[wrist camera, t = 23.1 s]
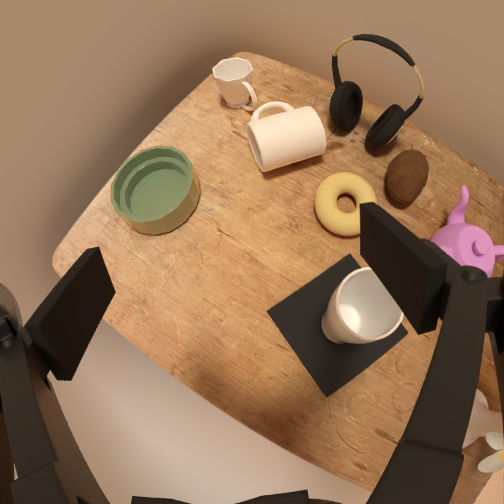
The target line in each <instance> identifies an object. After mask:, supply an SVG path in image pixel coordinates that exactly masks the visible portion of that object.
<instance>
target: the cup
mask: <svg viewBox="0 0 504 504" xmlns="http://www.w3.org/2000/svg"><path fill="white" fill-rule="evenodd" d="M213 73H214V78H215V80H216V82H217V84H218V87H219V89H220V91H221V94H222V96H223V97H224V99H225V100H226V102H227V106H230V107H232V108H240V107H242V108H243V109H245V110H247V111H252V110H254V109H256V108H257V106H258V103H257V98H256V95H255V92H254V90H253V88H252V87H251V84H252V74H253V69H252V66H251V63H250V61H248V60H245V59H241V58H238V57H236V58H230V59H226V60H222V61H220V62H219V63H218V64H217V65H216V66H215V67H213ZM249 95H250V96H251V99H252V103H253V108H252V107H248V106H246V104H247V103H248V102H249V98H248V97H249Z"/></svg>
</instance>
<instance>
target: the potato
mask: <svg viewBox="0 0 504 504" xmlns="http://www.w3.org/2000/svg"><path fill="white" fill-rule="evenodd" d="M428 170H429V166H428V162H427V159H426V157H425V156H424V155H423V154H422V153H421V152H419V151H416V150H406V151H403V152H401V153H400V154H399V155H397V156H396V157H395V158H394V159H393V160H392V161H391V162H390V164H389V166H388V172H387V183H386V185H387V190H388V192H389V194H390V196H391V197H392V198H393V199H394V200H395V201H396V202H398V203H401V204H409V203H410V202H411V201H412V200H414V198H415V197H416V196H417V195H418V194H419V193H420V192H421V191H422V189H423V188H424V186H425V185H426V182H427V178H428Z"/></svg>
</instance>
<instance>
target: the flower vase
mask: <svg viewBox="0 0 504 504" xmlns="http://www.w3.org/2000/svg"><path fill="white" fill-rule="evenodd" d="M478 437H486V441H487V443H488V444H489V445H490V446H491V447H492V448H493V449H495V450H499V451H498V452H496V453H495V454H492V455H491V456H488V457H487V458H485V459H484V460H482V461H481V462H480V463H479V465H478V469H479V471H480V472H484V473H492V472H496V471H498V470H500V469H502V468H503V467H504V437H503V423H502V413H499V412H494V411H491V410H489V408H488V403H487V400H486V397H485V396H484V394H483V393H482V392H481V391H480V390H478V389H476V394H475V399H474V404H473V408H472V413H471V417H470V421H469V425H468V429H467V433H466V436H465V440H464V443H463V447H462V449H463V448H465V447H467V446H469V445H471V444H472V443H473V442H474V441H476V440H477V439H478ZM500 449H501V450H500ZM503 479H504V478H503Z"/></svg>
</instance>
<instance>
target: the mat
mask: <svg viewBox="0 0 504 504" xmlns="http://www.w3.org/2000/svg"><path fill="white" fill-rule="evenodd" d="M360 268H361V267H360V266H359V264H358V263H357V262H356V261H355V259H354V258H353V257H352V255H351V254H348V255H347V256H346V257H344V258H343V259H341V260H340V261H339V262H337V263H336V264H334V265H333V266H332V267H330V268H329V269H327V270H326V271H325V272H323V273H322V274H320V275H319V276H317V277H316V278H315V279H313V280H312V281H310V282H309V283H307V284H306V285H304V286H303V287H302V288H300V289H299V290H297V291H296V292H294V293H293V294H291V295H290V296H288V297H287V298H285V299H284V300H282V301H281V302H279V303H278V304H276V305H275V306H273V307H272V308H270V309H269V310H267V312H268V314H269V315H270V317H271V318H272V320H273V321H274V322H275V324H276V325H277V327H278V328H279V330H280V331H281V333H282V334H283V336H284V337H285V338H286V340H287V341H288V343H289V344H290V346H291V347H292V349H293V350H294V351H295V353H296V354H297V356H298V357H299V359H300V360H301V361H302V363H303V364H304V366H305V367H306V369H307V370H308V371H309V373H310V374H311V376H312V377H313V379H314V380H315V381H316V383H317V384H318V386H319V387H320V389H321V390H322V391H323V393H324V394H325V396H326V397H328V396H329V395H331V394H332V393H334V392H335V391H337V390H338V389H339V388H341V387H342V386H343V385H345V384H346V383H347V382H349V381H350V380H352V379H353V378H354V377H356V376H357V375H358V374H359V373H361V372H362V371H363V370H365V369H366V368H367V367H368V366H370V365H371V364H372V363H374V362H375V361H376V360H377V359H379V358H380V357H381V356H382V355H383V354H385V353H386V352H387V351H388V350H389V349H391V348H392V347H393V346H394V345H395V344H397V343H398V342H399V341H400V340H401V339H402V338H404V337H405V336H406V335H407V334H408V332H407V331H406V329H405V328H404V326H403V325H402V323H400V325H399V326H398V327H397V329H396V330H395V331H394V332H393V333H391V334H390V335H388V336H387V337H385V338H382V339H380V340H378V341H375V342H371V343H366V344H351V343H343V344H340V343H335V342H333V341H331V340H329V339H328V338H327V337H326V336H325V334H324V332H323V330H322V317H323V315H324V313H325V311H326V309H327V306H328V303H329V300H330V298H331V296H332V294H333V292H334V290H335V289H336V288H337V286H338V285H339V284H340V283H341V282H342V280H343V279H344V278H345V277H346V276H348V275H349V274H350V273H352V272H353V271H355V270H357V269H360Z"/></svg>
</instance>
